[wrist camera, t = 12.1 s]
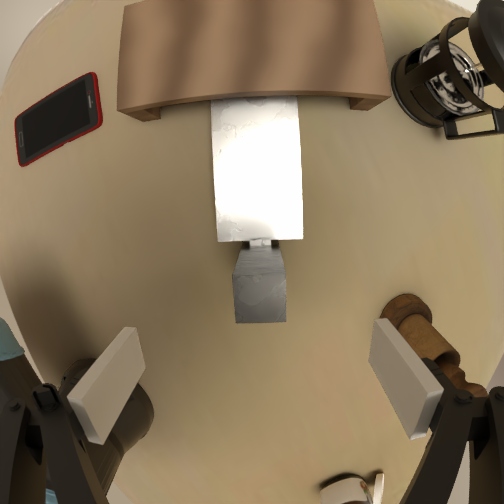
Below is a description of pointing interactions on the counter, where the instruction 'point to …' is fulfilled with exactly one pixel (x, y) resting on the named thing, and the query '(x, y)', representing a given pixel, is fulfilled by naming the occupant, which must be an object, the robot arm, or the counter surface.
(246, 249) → the scraper
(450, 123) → the french press
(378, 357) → the robot arm
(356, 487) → the spread jar
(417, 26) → the counter surface
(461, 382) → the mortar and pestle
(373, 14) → the low bench
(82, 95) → the cell phone
